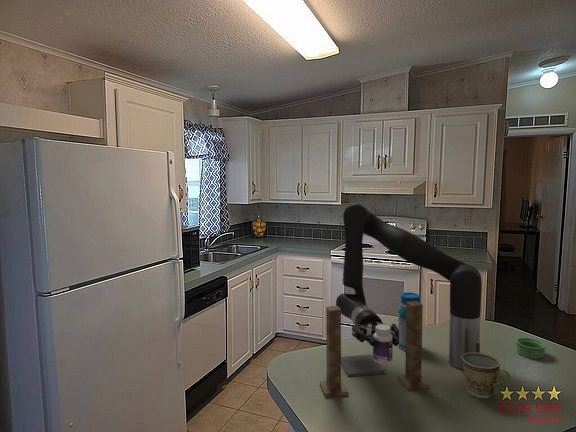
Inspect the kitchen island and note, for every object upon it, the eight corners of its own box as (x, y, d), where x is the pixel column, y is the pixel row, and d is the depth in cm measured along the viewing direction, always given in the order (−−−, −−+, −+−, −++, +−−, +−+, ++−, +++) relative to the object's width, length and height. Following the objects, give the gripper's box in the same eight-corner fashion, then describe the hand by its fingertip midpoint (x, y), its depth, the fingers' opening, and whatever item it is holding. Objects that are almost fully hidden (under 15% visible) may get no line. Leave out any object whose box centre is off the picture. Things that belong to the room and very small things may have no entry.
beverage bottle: (398, 351, 141) (399, 297, 139) (397, 341, 149) (397, 290, 147) (423, 353, 139) (424, 298, 137) (420, 343, 147) (421, 292, 145)
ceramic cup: (454, 391, 115) (454, 358, 114) (471, 380, 121) (472, 349, 120) (499, 411, 104) (501, 376, 103) (516, 398, 110) (517, 364, 109)
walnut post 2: (418, 376, 123) (420, 299, 121) (429, 388, 116) (431, 306, 114) (397, 378, 122) (398, 300, 120) (407, 390, 115) (408, 307, 113)
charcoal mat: (371, 356, 137) (371, 354, 137) (384, 373, 125) (384, 371, 125) (338, 359, 136) (338, 357, 136) (348, 376, 124) (348, 374, 124)
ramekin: (539, 363, 131) (540, 350, 131) (511, 353, 138) (511, 342, 137) (549, 355, 137) (550, 343, 136) (521, 346, 144) (521, 335, 143)
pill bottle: (392, 365, 107) (393, 331, 106) (372, 363, 108) (373, 330, 107) (391, 356, 112) (392, 323, 111) (372, 354, 113) (372, 322, 112)
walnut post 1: (342, 383, 120) (341, 303, 117) (348, 395, 113) (348, 311, 111) (319, 385, 119) (319, 305, 117) (325, 397, 112) (324, 313, 110)
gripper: (344, 310, 122) (361, 332, 105) (387, 307, 124) (411, 328, 107) (344, 333, 123) (361, 358, 106) (387, 330, 125) (411, 354, 108)
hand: (386, 343), depth 107 cm, fingers closed on pill bottle, 5 cm apart
